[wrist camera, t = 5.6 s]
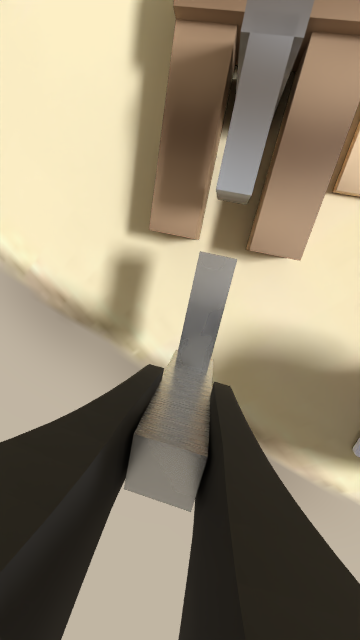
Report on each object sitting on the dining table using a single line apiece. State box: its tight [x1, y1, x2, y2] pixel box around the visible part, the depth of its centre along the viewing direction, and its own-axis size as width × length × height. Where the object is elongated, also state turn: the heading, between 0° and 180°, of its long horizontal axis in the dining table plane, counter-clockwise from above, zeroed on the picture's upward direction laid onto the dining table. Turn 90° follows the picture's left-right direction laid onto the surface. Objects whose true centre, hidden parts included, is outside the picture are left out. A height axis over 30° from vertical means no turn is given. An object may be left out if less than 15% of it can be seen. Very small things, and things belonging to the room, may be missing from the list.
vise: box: [149, 0, 360, 261], centre depth 10 cm, size 14×9×6 cm, turn 169°
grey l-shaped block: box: [124, 251, 237, 512], centre depth 8 cm, size 7×2×6 cm, turn 169°
